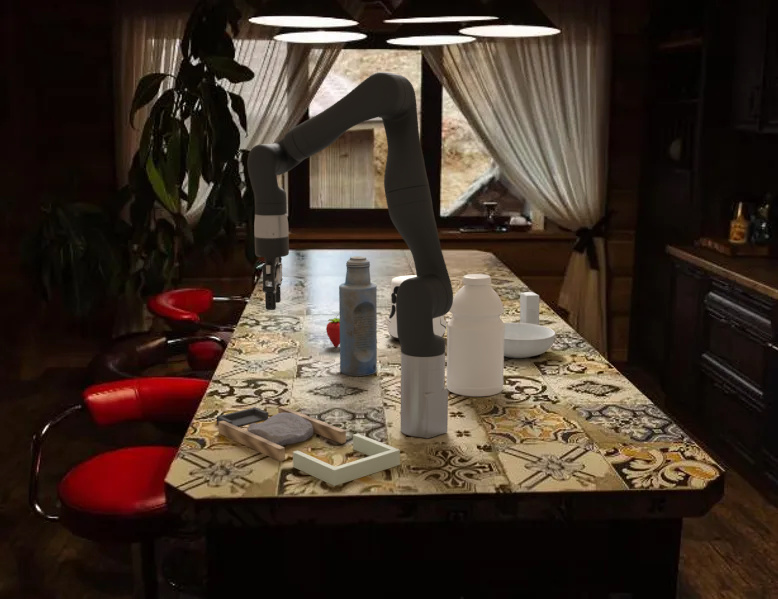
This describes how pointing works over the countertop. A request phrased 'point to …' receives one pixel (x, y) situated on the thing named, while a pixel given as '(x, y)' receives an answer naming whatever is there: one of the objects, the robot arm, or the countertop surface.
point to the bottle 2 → (475, 339)
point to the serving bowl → (526, 340)
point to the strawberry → (334, 331)
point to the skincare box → (529, 308)
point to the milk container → (438, 322)
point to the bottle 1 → (358, 319)
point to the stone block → (283, 429)
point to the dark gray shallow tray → (244, 417)
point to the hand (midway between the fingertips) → (273, 305)
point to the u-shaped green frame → (377, 461)
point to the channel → (272, 448)
